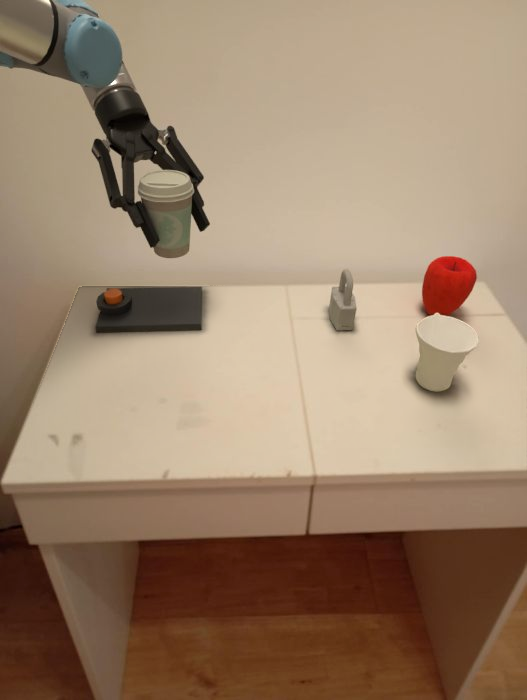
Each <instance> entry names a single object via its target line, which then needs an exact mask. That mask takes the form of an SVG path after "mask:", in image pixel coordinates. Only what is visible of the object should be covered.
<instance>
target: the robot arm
mask: <svg viewBox="0 0 527 700" xmlns="http://www.w3.org/2000/svg"><path fill="white" fill-rule="evenodd" d="M0 67H4V68H8V69H12V70H13V69H14V68H15V69H25V70H30V71H31V70H32V71H34V72H37V73H40V74H44V75H48V76H50V77H55V78H60V79H62V80H66V81H67V82H68V81H69V82H72V83H74V84H78V85H80V87H81V88H82V90H83V92H84V95H85V97H86V99H87V101H88V103H89V105H90V107H91V110H92V111H93V112H94V115H95V117H96V119H97V122H98V124H99V125H100V128H101V129H102V132H103V133H104V135H105V138H104V139H100V138H95V139H94V140H93V144H92V147H91V153H92V155H93V156H94V158H95V160H96V161H97V163H98V165H99V166H98V167H99V169H100V173H101V177H102V180H103V184H104V188H105V191H106V195H107V199H108V202H109V207H110V208H112V209H115V210H116V209H118V208H120V209H121V210H122V211H123V212H125V213H127V215H128V216H129V219H130V221H131V222H132V225H133V226H134V228H135V229H138V228H140V229H141V231H142V233H143V235H144V237H145V239H146V242H147V243H148V246H149V248H150V249H153V247H155V246H156V245H157V243H158V242H159V241H160V239H159V237H158V235H157V233H156V231H155V229H154V227H153V225H152V222H151V220H150V218H149V216H148V214H147V212H146V210H145V208H144V206H143V204H142V201H141V200H137V201H135V200H136V199H135V198H136V195H135V163H138V162H140V161H150V162H151V163H152V164H154V165H156V166H158V167H159V168H160V170H175V171H180V172H183V173H185V174H187V175H188V176H189V177H190V180H191V183H192V184H193V188H194V193H193V195H192V209H191V217H192V218H193V220H194V222H195V225H196V226H197V228H198V230H199V232H200V233H202V232H205V230H206V229H207V228H208V227H209V226H210V225H211V223H210V221H209V219H208V217H207V215H206V212H205V209H204V206H205V201H204V199H203V197H202V195H201V193H200V191H199V188H198V187H199V186H200V184H201V183H202V182H203V181H204V179H205V176H204V174H203V173H202V171H201V170H200V169H199V168H198V166H197V164H196V163H195V162H194V160H193V159H192V156H190V155H189V152H188V151H187V150H186V148H185V147H184V145H183V144H182V143H181V141H180V140H179V138H178V135H177V132H176V129H175V127H174V126H172V125H168V126H167V127H166V128H164V129H161V128H160V129H159V128H157V127H156V126H155V125H154V123H152V120H151V118H150V115H149V112H148V110H147V108H146V106H145V104H144V101H143V100H142V97H141V95H140V94H139V93H138V90H137V88H136V85H135V83H134V82H133V79H132V77H131V75H130V73H129V70H128V69H127V67H126V65H125V62H124V61H123V49H122V44H121V41H120V38H119V36H118V34H117V33H116V31H115V30H114V29H113V27H112V26H111V25H110V24H109V23H108V22H106V21H105V20H104V21H103V20H101V19H100V18H99V16H98V13H97V12H96V11H94V10H93V9H92V8H91V7H90V6H89V5H88V4H86V2H84V1H83V0H0ZM159 141H161V143H160V142H159ZM164 146H165V147H164ZM166 149H167V151H168V152H167V151H166ZM111 150H112V151H113V152H115V153H116V154H117V155H119V156H120V165H121V167H120V168H121V174H122V176H121V178H122V183H121V184H122V193H121V190H120V186H119V183H118V179H117V175H116V171H115V167H114V163H113V160H112V156H111V154H110V152H111Z"/></svg>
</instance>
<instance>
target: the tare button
mask: <svg viewBox="0 0 527 700" xmlns="http://www.w3.org/2000/svg"><path fill="white" fill-rule="evenodd" d="M104 292H105V293H104V297H105V301H106V303H107V304H118V303H120V302H122V300H123V298H122V292H121V291H120V290H119V289H109V290H107V291H106V290H105V291H104Z"/></svg>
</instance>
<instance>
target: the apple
mask: <svg viewBox="0 0 527 700" xmlns="http://www.w3.org/2000/svg"><path fill="white" fill-rule="evenodd" d="M477 279H478V276H477V270H476V268H475V267H474V266H473V264H472V263H470V262H469V261H468V260H466V259H465V258H462V257H459V256H453V255H445V256H439V257H436V258H435V259H433V260H432V261H431V262H430V263H429V265H428V266H427V269H426V271H425V273H424V277H423V281H422V287H421V298H422V303H423V307H424V310H425V312H426V313H427V314H428V315H429V316H432V315H434V314H435V313H439V314H440V315H443V316H449V317H450V316H451V315H452V314H453V313H455V312H456V311H458V309H459V308H461V306H463V304H464V303H465V302H466V301H467V299H468V298H469V296H470V295H471V293H472V292H473V290H474V287H475V285H476V282H477Z"/></svg>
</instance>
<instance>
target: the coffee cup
mask: <svg viewBox="0 0 527 700" xmlns="http://www.w3.org/2000/svg"><path fill="white" fill-rule="evenodd" d="M193 193H194V188H193V184H192V183H191V180H190V177H189V176H188V175H187V174H185V173H183V172H180V171H175V170H162V169H158V170H154V171H153V170H151V171H147V172H146V173H144V174H142V175H141V176H140V177H139V183H138V185H137V195H138V196H139V197H140V201H141V202H142V204H143V206H144V208H145V210H146V212H147V214H148V216H149V218H150V220H151V222H152V225H153V227H154V229H155V231H156V233H157V235H158V237H159V239H160V241H159V242H158V243H157V245H156V246H155V247H152V249H153V252H154V253H155V255H157V256H158V257H160V258H163V259H178V258H181V257H184V256H185V255H186V256H187V254H188V253H189V252H190V246H191V245H190V244H191V243H190V242H191V227H192V224H191V223H192V214H191V209H192V195H193Z"/></svg>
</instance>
